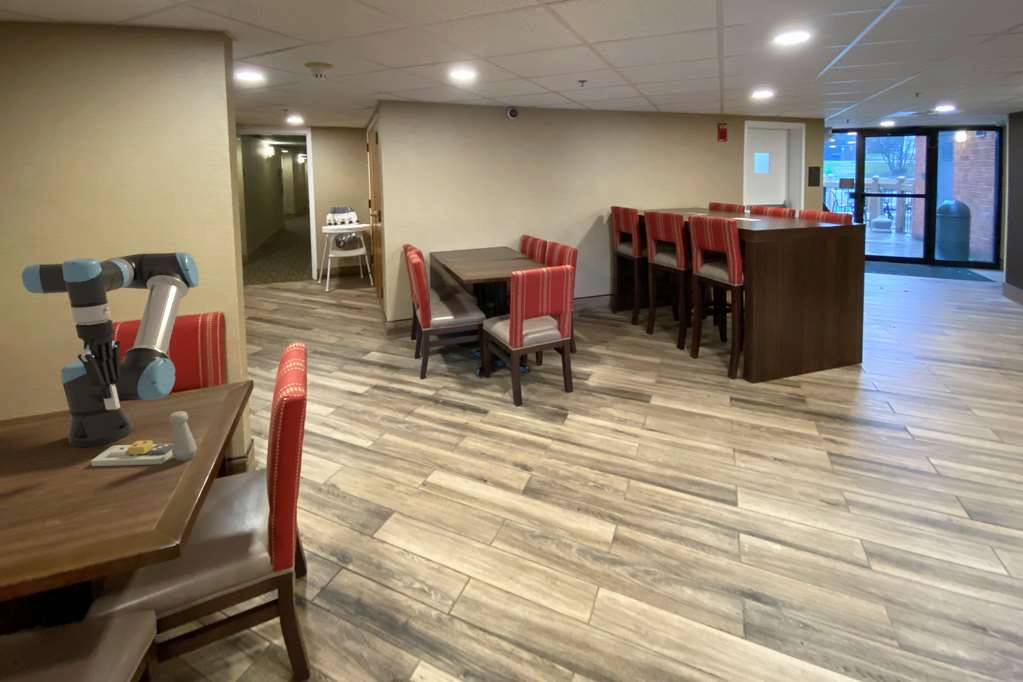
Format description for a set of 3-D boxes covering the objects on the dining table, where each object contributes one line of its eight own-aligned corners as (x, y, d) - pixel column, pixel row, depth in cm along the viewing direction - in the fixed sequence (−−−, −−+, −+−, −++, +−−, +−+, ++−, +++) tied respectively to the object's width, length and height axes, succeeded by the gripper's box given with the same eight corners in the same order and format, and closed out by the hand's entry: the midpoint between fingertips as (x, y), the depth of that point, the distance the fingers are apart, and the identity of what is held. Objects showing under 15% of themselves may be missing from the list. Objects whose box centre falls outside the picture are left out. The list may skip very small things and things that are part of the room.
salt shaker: (187, 464, 147) (178, 418, 144) (168, 462, 148) (159, 416, 145) (203, 453, 153) (195, 409, 149) (184, 452, 154) (176, 408, 150)
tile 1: (111, 459, 149) (109, 451, 149) (120, 452, 153) (119, 445, 153) (126, 458, 149) (125, 451, 149) (135, 451, 153) (134, 444, 153)
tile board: (91, 466, 147) (90, 461, 147) (113, 450, 156) (112, 445, 155) (162, 463, 148) (161, 458, 147) (180, 448, 156) (179, 443, 156)
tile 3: (149, 457, 150) (148, 450, 149) (158, 451, 154) (156, 443, 153) (165, 457, 150) (163, 450, 149) (173, 450, 154) (171, 443, 153)
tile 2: (129, 454, 149) (128, 447, 149) (138, 447, 153) (137, 440, 152) (145, 453, 149) (143, 446, 149) (153, 447, 153) (152, 439, 153)
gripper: (91, 327, 135) (111, 417, 142) (124, 314, 148) (142, 398, 154) (59, 328, 135) (81, 418, 141) (95, 315, 147) (114, 399, 154)
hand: (113, 408), depth 148 cm, fingers closed
